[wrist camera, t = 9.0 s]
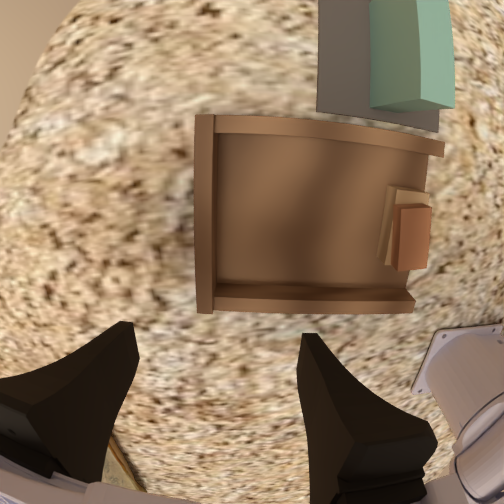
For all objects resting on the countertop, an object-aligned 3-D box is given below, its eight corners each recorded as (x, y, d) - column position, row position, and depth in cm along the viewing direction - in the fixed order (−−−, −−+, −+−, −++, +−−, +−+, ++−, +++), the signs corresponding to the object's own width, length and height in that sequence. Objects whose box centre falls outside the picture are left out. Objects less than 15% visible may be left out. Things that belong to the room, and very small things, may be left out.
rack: (424, 140, 18) (449, 142, 15) (398, 294, 23) (414, 316, 20) (205, 117, 18) (194, 114, 15) (204, 289, 23) (197, 313, 20)
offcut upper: (422, 203, 18) (431, 207, 17) (418, 261, 19) (426, 268, 18) (393, 204, 18) (401, 209, 17) (390, 264, 19) (397, 271, 18)
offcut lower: (418, 189, 19) (429, 193, 17) (406, 257, 21) (416, 265, 19) (387, 184, 19) (397, 189, 17) (376, 256, 21) (384, 265, 19)
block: (395, 10, 15) (443, -26, 8) (396, 112, 18) (454, 108, 11) (368, 3, 15) (410, -39, 8) (369, 107, 18) (420, 98, 11)
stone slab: (93, 502, 37) (17, 408, 25) (98, 486, 41) (31, 386, 29) (155, 519, 37) (101, 438, 25) (159, 501, 41) (113, 410, 29)
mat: (434, 16, 15) (436, 15, 14) (436, 132, 18) (438, 132, 18) (318, -13, 15) (319, -15, 14) (316, 111, 18) (317, 111, 18)
